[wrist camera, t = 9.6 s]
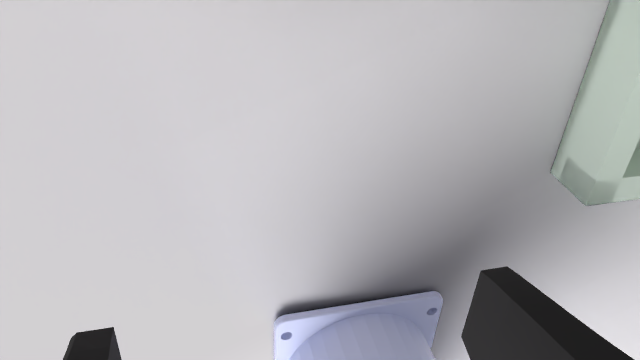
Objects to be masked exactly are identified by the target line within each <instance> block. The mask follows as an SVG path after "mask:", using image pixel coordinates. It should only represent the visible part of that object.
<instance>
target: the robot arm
mask: <svg viewBox="0 0 640 360" xmlns="http://www.w3.org/2000/svg"><path fill="white" fill-rule="evenodd" d="M442 304H443V298H442V296H441V295H440V293H439V292H437V291H430V292H424V293H418V294H412V295H405V296H399V297H393V298H386V299H380V300H374V301H368V302H361V303H355V304H349V305H343V306H336V307H330V308H324V309H318V310H311V311H305V312H299V313H293V314H286V315H282V316H280V317H279V318H277V319H276V321H275V323H274V360H436V359H435V357H434V355H433V353H432V351H431V347H432V343H433V339H434V336H435V332H436V328H437V324H438V320H439V316H440V312H441V308H442ZM285 332H286V333H285ZM461 337H462V339H463V342H464V344H465V347H466V349H467V352H468V354H469V357H470V359H471V360H634V359H632V358H631V357H630V356H628V355H627V354H625V353H624V352H622V351H621V350H620V349H618V348H617V347H615V346H614V345H612V344H611V343H610V342H608V341H607V340H605V339H604V338H603V337H601V336H600V335H599V334H597V333H596V332H594V331H593V330H592V329H590V328H589V327H588V326H586V325H585V324H584V323H582V322H581V321H580V320H578V319H577V318H575V317H574V316H573V315H571V314H570V313H569V312H567V311H566V310H565V309H564V308H562V307H561V306H560V305H558V304H557V303H556V302H554V301H553V300H552V299H550V298H549V297H548V296H546V295H545V294H544V293H542V292H541V291H540V290H538V289H537V288H536V287H534V286H533V285H532V284H530V283H529V282H528V281H526V280H525V279H524V278H522V277H521V276H520V275H518V274H517V273H516V272H514V271H513V270H511V269H510V268H509V267H501V268H495V269H488V270H482V271H481V272H480V275H479V279H478V282H477V285H476V289H475V292H474V296H473V299H472V302H471V306H470V309H469V312H468V316H467V319H466V322H465V326H464V329H463V332H462V336H461ZM63 360H121V356H120V352H119V348H118V344H117V340H116V335H115V331H114V327H111V328H105V329H98V330H92V331H85V332H79V333H76V334H75V335H74V336H73V337H72V338H71V340H70V343H69V345H68V348H67V351H66V353H65V356H64V358H63Z"/></svg>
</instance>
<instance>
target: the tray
mask: <svg viewBox="0 0 640 360" xmlns="http://www.w3.org/2000/svg"><path fill="white" fill-rule="evenodd" d="M550 173H551V174H552V175H553V176H554V177H555V178H557V179H558V180H559V181H560V182H561V183H562V184H563V185H564V186H565V187H566V188H567V189H568V190H569V191H570V192H571V193H572V194H573V195H574V196H575V197H576V198H577V199H579V200H580V201H581V202H582V203H583V204H584V205H585V206H591V205H598V204H606V203H614V202H621V201H629V200H637V199H640V0H610V2H609V5H608V8H607V11H606V14H605V17H604V20H603V22H602V25H601V28H600V31H599V34H598V37H597V40H596V43H595V45H594V48H593V51H592V54H591V57H590V60H589V63H588V66H587V68H586V71H585V74H584V77H583V80H582V83H581V86H580V89H579V91H578V94H577V97H576V100H575V103H574V106H573V109H572V112H571V114H570V117H569V120H568V123H567V126H566V129H565V132H564V135H563V137H562V140H561V143H560V146H559V149H558V152H557V155H556V158H555V160H554V163H553V166H552V169H551V172H550Z"/></svg>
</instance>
